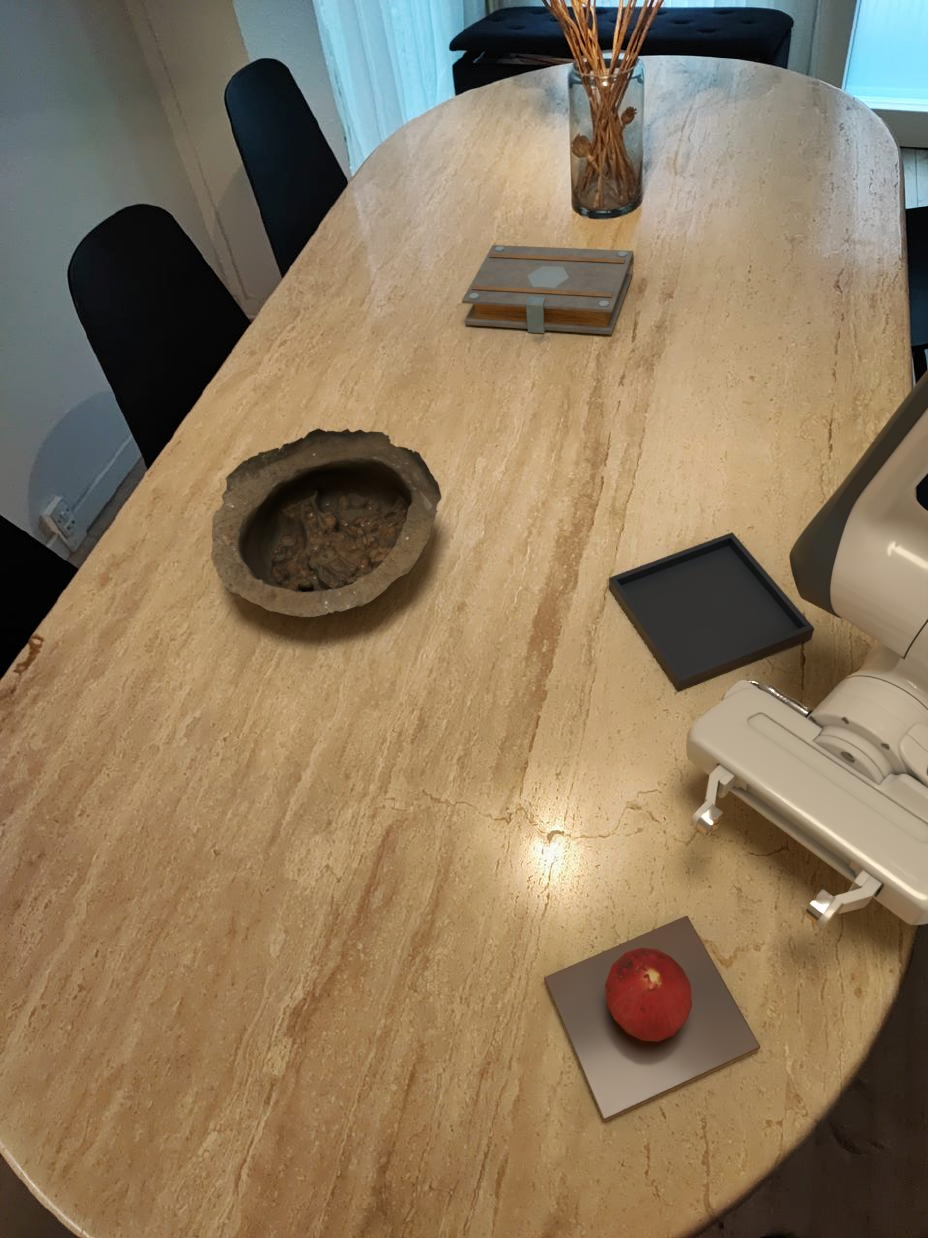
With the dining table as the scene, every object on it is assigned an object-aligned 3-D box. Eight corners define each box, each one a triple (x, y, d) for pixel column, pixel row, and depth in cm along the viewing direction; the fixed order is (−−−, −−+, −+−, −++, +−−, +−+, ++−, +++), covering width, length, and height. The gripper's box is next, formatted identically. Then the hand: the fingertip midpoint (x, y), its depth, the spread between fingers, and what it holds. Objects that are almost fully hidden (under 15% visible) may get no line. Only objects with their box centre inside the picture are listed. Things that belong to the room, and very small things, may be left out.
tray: (811, 639, 81) (814, 628, 80) (677, 692, 79) (679, 681, 78) (730, 543, 90) (732, 531, 89) (608, 588, 88) (608, 577, 87)
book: (633, 274, 125) (634, 241, 121) (610, 338, 116) (611, 305, 112) (496, 267, 131) (493, 236, 127) (464, 328, 122) (460, 296, 118)
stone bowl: (384, 453, 106) (372, 394, 98) (487, 588, 92) (482, 531, 85) (196, 536, 100) (169, 479, 92) (277, 692, 86) (252, 641, 79)
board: (758, 1051, 60) (761, 1047, 59) (603, 1123, 58) (603, 1120, 57) (686, 920, 66) (687, 915, 65) (544, 982, 64) (543, 977, 64)
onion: (588, 1004, 62) (587, 971, 56) (642, 950, 64) (647, 911, 58) (649, 1071, 59) (655, 1043, 53) (704, 1011, 61) (716, 977, 55)
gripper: (753, 647, 67) (639, 758, 62) (1016, 811, 57) (902, 963, 52) (743, 692, 72) (636, 799, 67) (983, 851, 61) (876, 993, 56)
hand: (753, 871), depth 59 cm, fingers open, 8 cm apart
